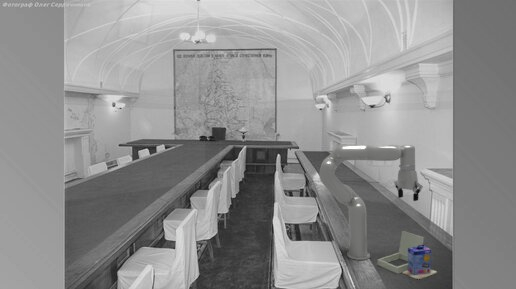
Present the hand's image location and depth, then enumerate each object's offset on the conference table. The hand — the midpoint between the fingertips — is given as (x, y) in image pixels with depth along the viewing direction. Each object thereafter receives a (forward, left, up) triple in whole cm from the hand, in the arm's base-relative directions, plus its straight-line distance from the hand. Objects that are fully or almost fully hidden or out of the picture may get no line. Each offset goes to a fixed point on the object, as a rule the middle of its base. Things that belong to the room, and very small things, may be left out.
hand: (408, 198), depth 193 cm
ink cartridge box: (+15, -11, -33) cm, 38 cm away
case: (+3, -10, -33) cm, 35 cm away
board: (+15, -11, -33) cm, 38 cm away
